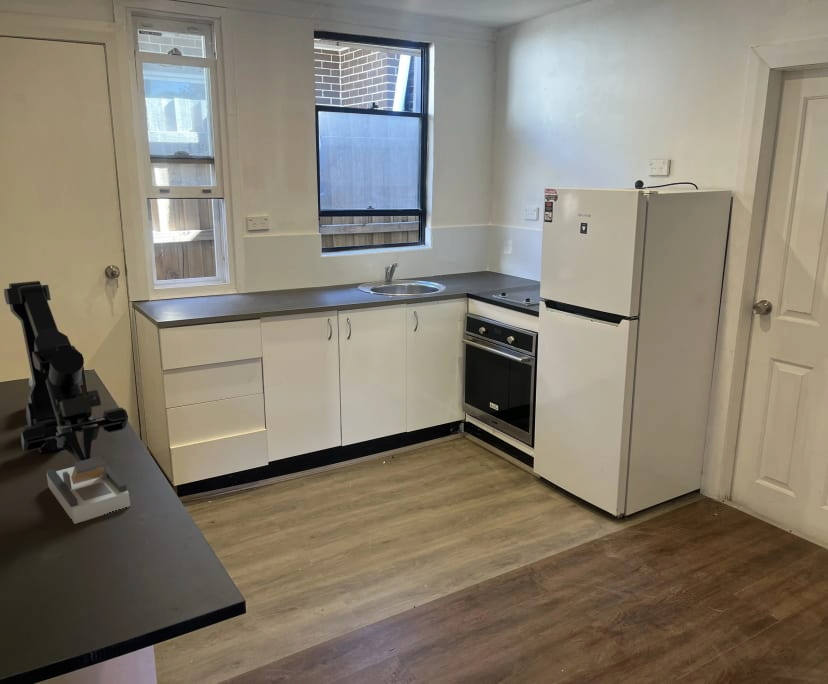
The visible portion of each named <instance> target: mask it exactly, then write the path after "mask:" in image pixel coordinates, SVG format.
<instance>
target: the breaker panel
mask: <svg viewBox="0 0 828 684" xmlns="http://www.w3.org/2000/svg"><path fill="white" fill-rule="evenodd" d="M73 470H74V466H71V467H67V468H64V469H60V470H55V469H54V468H50V469H46V479H47V485H48V488H49V490H50V491H51V493H52V494H53V495H54V497H55V498H56V500H57V501H58V503H59V504H60V505H61V506H62V508H63V510H64V511H65V513H66V514H67V516H68V517H69V518H70V519H72V520H71V521H72V522H73V524H75V525H76V524H78V523H82V522H85V521H89V520H92V519H94V518H95V519H96V518H99V517H101V516H104V514H105V515H108V514H110V513H109V512H111V513H113V512H112V511H114V512H116V511H115V510H117V511H119V510H118V509H121V510H123V509H122V508H124V509H126V508H125V507H127V508H129V506H130V507H131V499H130V493H129V491H128V489H127V488H128V487H127V484H126V483H125V481H123V480H122V479H121V477H119V476H118V474H117V473H116V472H115V471H114V470H112V469H111V468H110V466H108V464H107V465H106V466H105V467H104V470H103V472H102V474H101V477H99V478H95V479H91V480H88V481H84V482H81V483H77V484H74V485H73V482H72V479H71V476H72V473H73ZM107 513H108V514H107Z"/></svg>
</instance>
